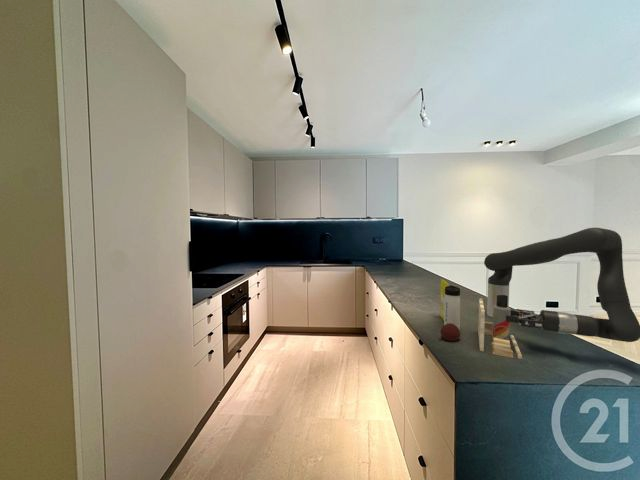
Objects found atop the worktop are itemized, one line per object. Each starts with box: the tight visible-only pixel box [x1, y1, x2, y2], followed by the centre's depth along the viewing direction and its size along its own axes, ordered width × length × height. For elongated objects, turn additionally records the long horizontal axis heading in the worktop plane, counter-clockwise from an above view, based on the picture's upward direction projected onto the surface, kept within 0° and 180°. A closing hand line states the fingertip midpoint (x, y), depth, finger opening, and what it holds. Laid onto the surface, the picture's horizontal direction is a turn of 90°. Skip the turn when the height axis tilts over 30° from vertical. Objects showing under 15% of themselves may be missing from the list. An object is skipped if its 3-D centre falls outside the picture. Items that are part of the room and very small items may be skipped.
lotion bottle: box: [491, 295, 512, 342], centre depth 106 cm, size 6×6×20 cm
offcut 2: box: [490, 341, 514, 358], centre depth 99 cm, size 6×5×2 cm
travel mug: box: [443, 284, 461, 330], centre depth 120 cm, size 6×7×20 cm
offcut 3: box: [491, 348, 514, 358], centre depth 99 cm, size 7×6×2 cm
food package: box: [439, 278, 450, 321], centre depth 133 cm, size 15×1×20 cm, turn 168°
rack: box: [477, 297, 523, 360], centre depth 105 cm, size 20×13×16 cm, turn 151°
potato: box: [440, 323, 461, 342], centre depth 110 cm, size 7×8×7 cm
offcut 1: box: [492, 338, 512, 352], centre depth 99 cm, size 6×5×2 cm
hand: (504, 315), depth 106 cm, fingers open, 8 cm apart
